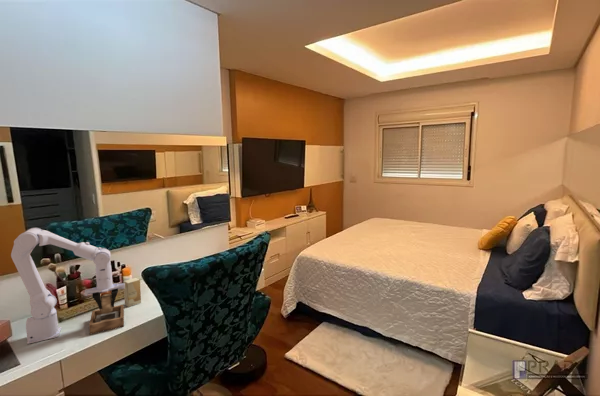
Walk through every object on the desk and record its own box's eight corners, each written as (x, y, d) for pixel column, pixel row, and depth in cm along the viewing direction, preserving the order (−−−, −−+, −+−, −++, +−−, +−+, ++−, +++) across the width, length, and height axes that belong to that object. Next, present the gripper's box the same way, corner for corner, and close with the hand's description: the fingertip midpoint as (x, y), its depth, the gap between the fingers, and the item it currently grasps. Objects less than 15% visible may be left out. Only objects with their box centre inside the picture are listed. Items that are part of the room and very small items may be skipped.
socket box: (89, 334, 124) (89, 325, 123) (93, 319, 136) (92, 310, 135) (123, 326, 130) (123, 317, 129) (124, 312, 142) (123, 304, 141)
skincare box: (128, 307, 147) (126, 283, 145) (124, 304, 149) (122, 281, 148) (142, 302, 152) (140, 279, 150) (137, 300, 155) (136, 277, 153)
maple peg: (101, 314, 130) (100, 298, 129) (102, 310, 133) (100, 295, 132) (112, 312, 132) (111, 296, 131) (112, 308, 135) (111, 293, 134)
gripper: (82, 284, 123) (85, 315, 125) (123, 277, 130) (126, 307, 132) (84, 278, 129) (87, 308, 131) (123, 272, 137) (126, 300, 138)
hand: (106, 307), depth 132 cm, fingers closed on maple peg, 4 cm apart
